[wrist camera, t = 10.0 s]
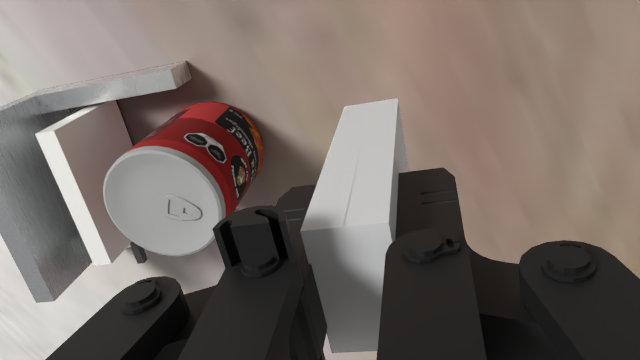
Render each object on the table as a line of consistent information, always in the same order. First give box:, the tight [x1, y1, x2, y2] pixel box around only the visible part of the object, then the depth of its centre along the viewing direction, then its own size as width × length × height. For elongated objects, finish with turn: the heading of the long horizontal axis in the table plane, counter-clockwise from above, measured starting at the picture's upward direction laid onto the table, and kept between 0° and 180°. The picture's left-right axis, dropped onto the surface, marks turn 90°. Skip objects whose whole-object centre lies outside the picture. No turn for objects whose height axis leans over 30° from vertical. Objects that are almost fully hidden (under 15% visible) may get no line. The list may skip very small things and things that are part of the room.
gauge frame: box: [0, 61, 234, 303], centre depth 40 cm, size 14×13×10 cm
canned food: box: [103, 102, 263, 256], centre depth 38 cm, size 8×8×11 cm
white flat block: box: [35, 100, 147, 265], centre depth 41 cm, size 13×2×8 cm, turn 12°
